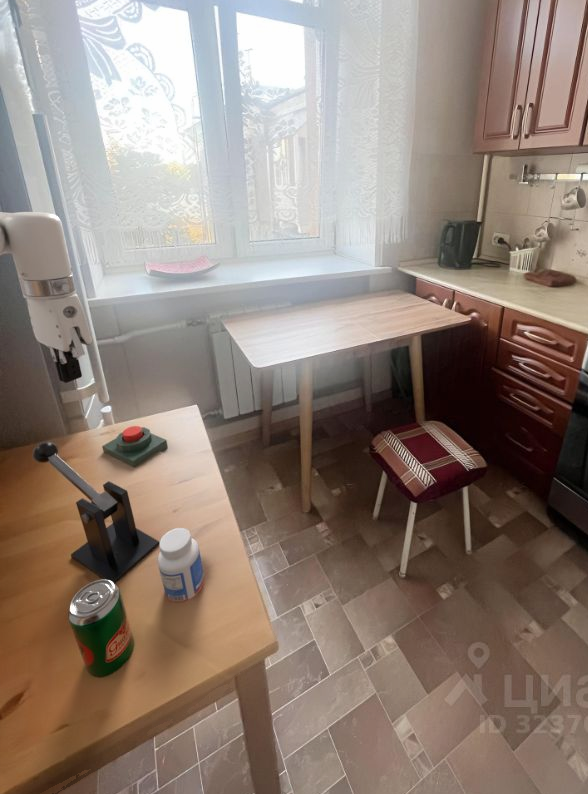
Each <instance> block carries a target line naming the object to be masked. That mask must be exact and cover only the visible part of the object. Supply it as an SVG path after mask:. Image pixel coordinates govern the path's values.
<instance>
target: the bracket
mask: <svg viewBox="0 0 588 794" xmlns="http://www.w3.org/2000/svg"><path fill="white" fill-rule="evenodd" d="M102 487H103V492H105V491H106V492H108V493H109V494H110V495H111V496H112V497H113V498H114V499H115V500H116V501H118V506H117V511H116V512H115V513H113V514H112V515H110V517H111V521H112V523H111V524H109V525H108V526H107V525H106V522H105V520H104V518H103V514H102V510H101V509H100V508H99V507H97V506H95V505H94V504H92V503H91V501H89V500H86V499H85V498H83V497H81V498H80V499H79V500H77V501H76V502H75V504H76V508H77V512H78V514H79V518H80V520H81V524H82V527H83V530H84V534H85V537H86V541H87V542H85V543H84V544H83V545H81V546H80V547H79V548H78V549H76V550H75V551H73V552H72V553H71V554H70V557H71V559H73V560H74V561H76V562H77V563H78V564H80V565H81V566H82V567H84V568H86V569H87V570H89V571H90V572H91V573H93V574H94V575H96V576H97V577H99V578H100V579H106V580H110V581H111V582H112V583H114V584H117V583H118V582H119V581H120V580H122V579H123V577H125V576H126V575H127V574H128V573H129V572H130V571H131V570H133V569H134V568H135V567H136V566H137V565H139V564H140V563H141V562H142V561H143V560H144V559H145V558H147V557H148V555H149V554H151V552H153V551H154V550H155V549H156V548H158V546H159V543H160V540H158V539H157V538H154V537H152V536H150V535H149V534H148V533H146V532H144V531H142V530H140V529H139V528H137V526H136V522H135V518H134V514H133V510H132V509H133V508H132V505H131V500H130V497H129V496H130V495H129V493H128V490H127V489H125V488H123V487H121V486H120V485H117V484H115V483H113V482H112V481H110V480H108V481H107V482H105V483H103V484H102ZM159 547H160V546H159Z"/></svg>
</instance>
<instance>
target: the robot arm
mask: <svg viewBox="0 0 588 794" xmlns="http://www.w3.org/2000/svg"><path fill="white" fill-rule="evenodd" d="M65 235H66V234H65V231H64V226H63V222H62V220H61V219H60V217H59V216H58V215H56V214H54V213H51V212H44V211H18V212H4V211H0V256H2V255H6V254H11V255H12V258H13V262H14V266H15V269H16V273H17V277H18V282H19V285H20V289H21V292H22V297H23V298H24V299H26V302H27V310H28V314H29V315H28V316H29V319H30V324H31V327H32V331H33V335H34V337H35V339H36V341H38V343H40V344H41V345H42V344H43V345H44V346H45V347H47V348H48V349H49V351H50V355H51V357H52V360H53V361H54V364H55V368H56V372H57V377H58V381H60V382H63V383H65V384H67V383H70V382H73V381H75V380H77V379H80V378H82V377H83V374H82V370H81V365H80V361H79V360H80V357H83V356H85V355H86V352H85V350H84V347H83V345H86V346H91V344H92V343H93V339H92V335H91V331H90V327H89V324H88V320H87V316H86V313H85V310H84V307H83V305H82V303H81V299H80V298H79V296H78V294H77V292H78V291H77V287H76V283H75V277H74V273H73V268H72V264H71V260H70V254H69V249H68V245H67V240H66V236H65Z"/></svg>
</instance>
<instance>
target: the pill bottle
mask: <svg viewBox="0 0 588 794" xmlns="http://www.w3.org/2000/svg"><path fill="white" fill-rule="evenodd" d="M200 551H201V550H200V546H199V544H198V542H197V540H195V539H194V538H193V537H192V535H191V531H189V529H187V528H185V527H176V528H172V529H171V530H169V531H167V532H166V533H164V534H163V535H162V537H161V538H160V540H159V553H158V556H157V566H158V570H159V574H160V578H161V582H162V587H163V590H164V594H165V596H166V598H167V600H169V601H171V602H173V603H183V602H187V601H188V600H191V599H192V598H193V597H195V596H196V595H198V593H200V591H201V589H202V588H203V586H204V583H205V573H204V568H203V561H202V557H201V552H200Z"/></svg>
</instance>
